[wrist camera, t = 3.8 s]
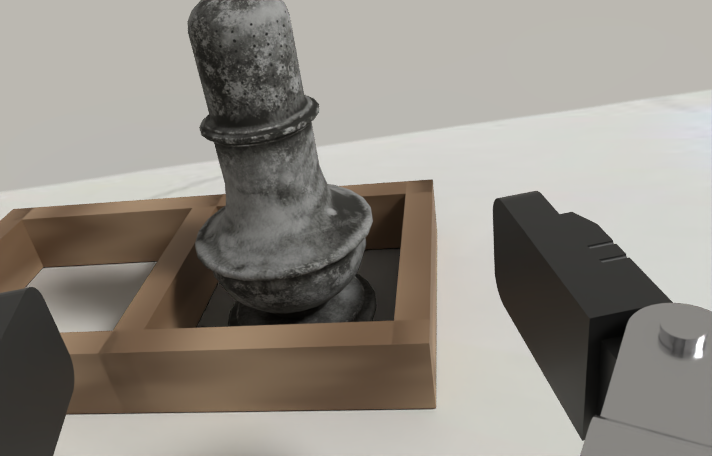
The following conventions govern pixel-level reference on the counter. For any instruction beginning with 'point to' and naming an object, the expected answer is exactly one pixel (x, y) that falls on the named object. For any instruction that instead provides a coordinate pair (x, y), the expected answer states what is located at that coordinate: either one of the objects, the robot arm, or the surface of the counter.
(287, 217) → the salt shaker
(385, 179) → the counter surface
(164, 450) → the counter surface
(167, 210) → the spice caddy
